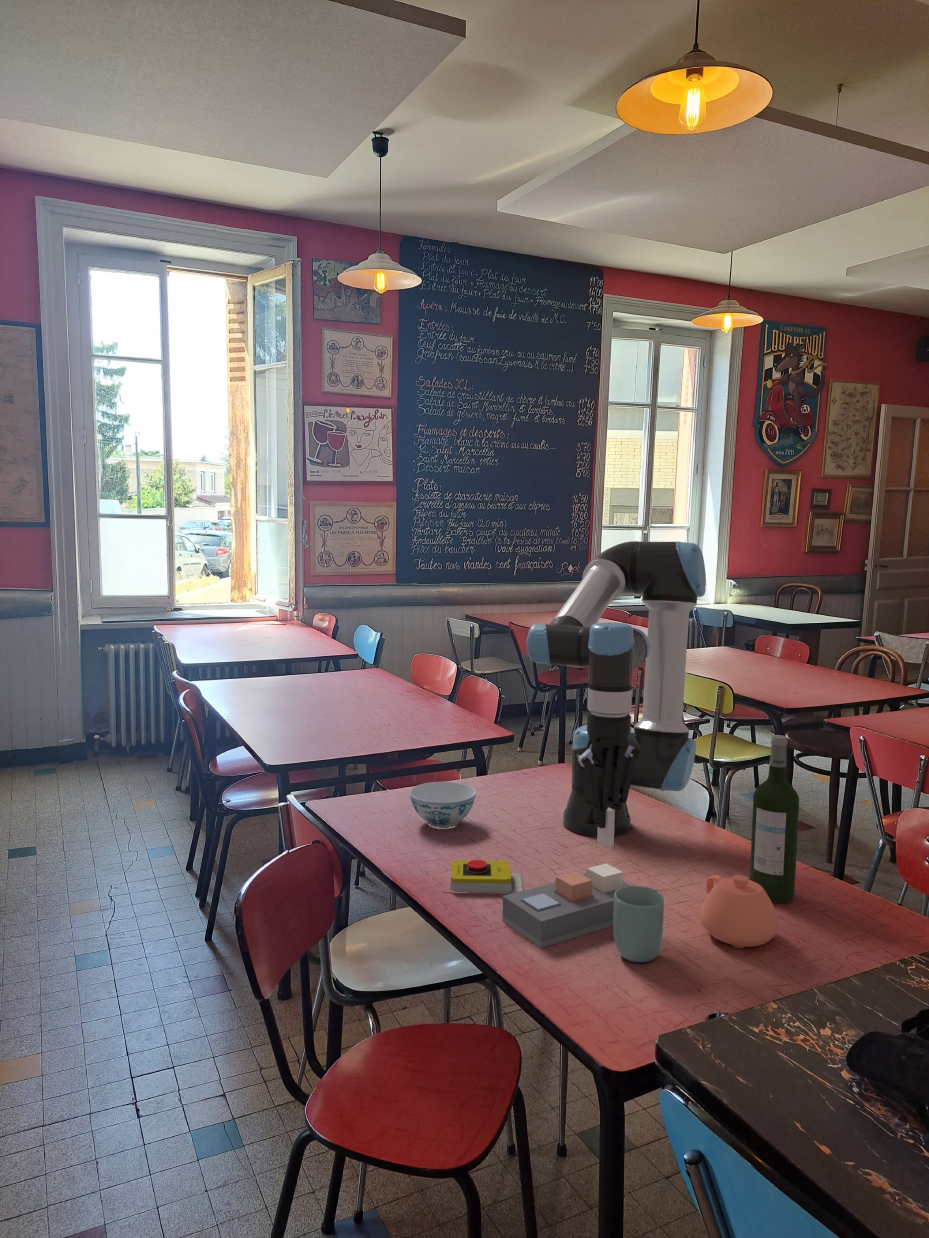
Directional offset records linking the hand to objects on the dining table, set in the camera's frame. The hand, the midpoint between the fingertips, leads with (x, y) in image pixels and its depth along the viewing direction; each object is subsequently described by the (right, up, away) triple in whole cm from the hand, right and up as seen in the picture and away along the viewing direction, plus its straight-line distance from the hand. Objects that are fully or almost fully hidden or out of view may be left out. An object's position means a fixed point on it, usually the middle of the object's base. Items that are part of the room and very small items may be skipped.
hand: (605, 843), depth 151 cm
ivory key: (0, -8, +1) cm, 8 cm away
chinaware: (-30, -7, +44) cm, 54 cm away
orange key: (-6, -9, -3) cm, 11 cm away
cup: (+3, -14, -15) cm, 21 cm away
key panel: (-6, -12, -2) cm, 14 cm away
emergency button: (-21, -11, +12) cm, 27 cm away
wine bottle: (+32, -12, +8) cm, 35 cm away
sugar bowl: (+20, -13, -7) cm, 25 cm away
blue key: (-12, -11, -6) cm, 18 cm away
